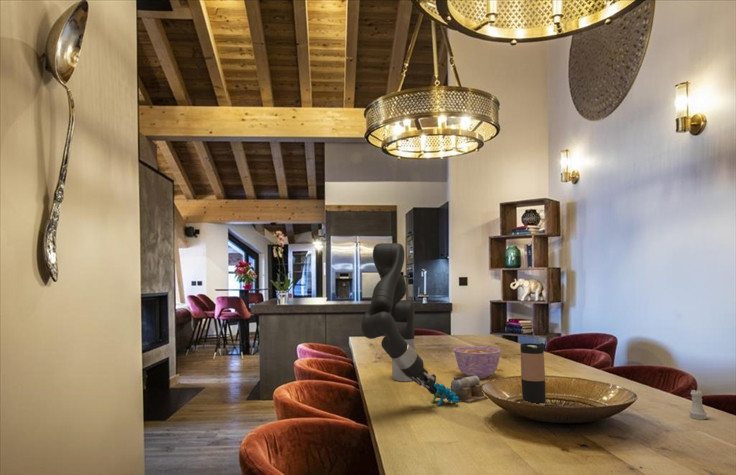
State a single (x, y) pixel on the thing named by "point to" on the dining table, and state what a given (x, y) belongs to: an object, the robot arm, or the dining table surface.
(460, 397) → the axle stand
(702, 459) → the dining table surface
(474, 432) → the dining table surface
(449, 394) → the gear
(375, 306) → the robot arm
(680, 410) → the dining table surface
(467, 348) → the bowl of food
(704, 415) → the rook chess piece
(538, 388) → the travel mug
